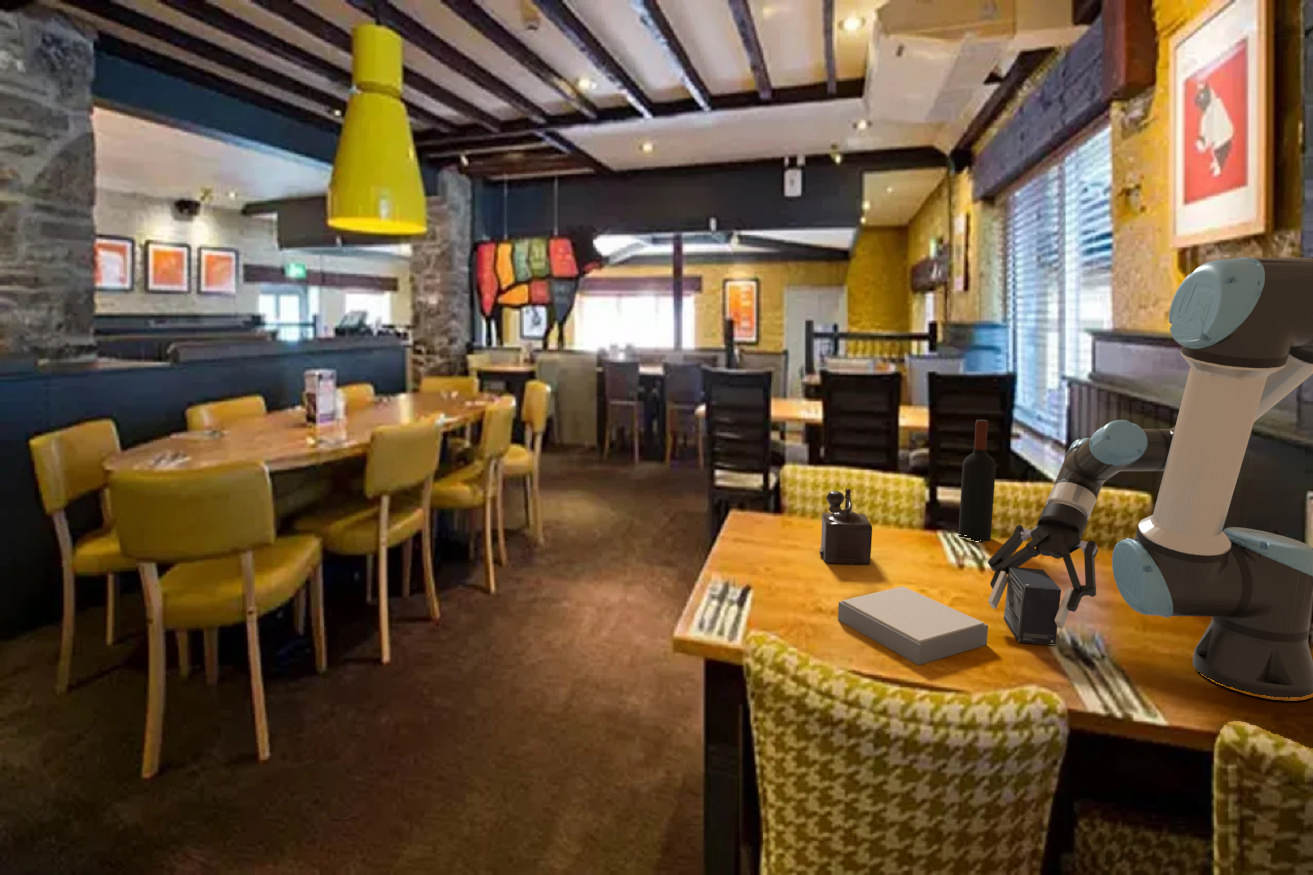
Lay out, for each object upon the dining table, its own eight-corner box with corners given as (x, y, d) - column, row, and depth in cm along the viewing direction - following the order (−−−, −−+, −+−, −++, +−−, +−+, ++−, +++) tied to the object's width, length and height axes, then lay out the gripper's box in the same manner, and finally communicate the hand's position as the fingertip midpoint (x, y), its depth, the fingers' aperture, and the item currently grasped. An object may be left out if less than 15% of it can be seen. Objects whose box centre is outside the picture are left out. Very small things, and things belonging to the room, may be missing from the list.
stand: (986, 644, 127) (988, 623, 127) (918, 665, 121) (919, 642, 120) (901, 604, 145) (902, 584, 144) (838, 620, 138) (838, 599, 138)
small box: (1058, 646, 126) (1064, 589, 125) (1018, 643, 128) (1022, 586, 126) (1040, 621, 137) (1044, 567, 135) (1002, 618, 138) (1006, 565, 136)
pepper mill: (817, 549, 178) (819, 477, 175) (863, 550, 177) (866, 477, 174) (824, 572, 163) (827, 493, 160) (875, 573, 162) (879, 494, 159)
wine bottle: (956, 539, 184) (963, 421, 179) (959, 531, 191) (967, 417, 186) (989, 543, 181) (998, 423, 176) (991, 535, 187) (999, 419, 182)
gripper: (1140, 537, 131) (1100, 646, 123) (1008, 511, 148) (966, 605, 140) (1133, 514, 126) (1092, 625, 119) (998, 490, 143) (954, 586, 136)
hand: (1024, 614), depth 130 cm, fingers closed on small box, 11 cm apart
